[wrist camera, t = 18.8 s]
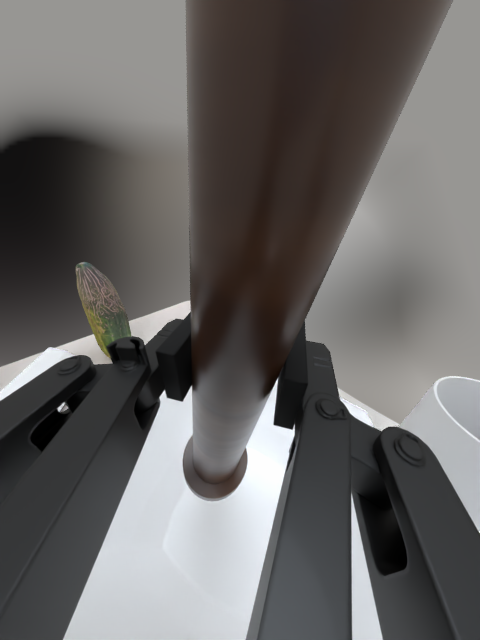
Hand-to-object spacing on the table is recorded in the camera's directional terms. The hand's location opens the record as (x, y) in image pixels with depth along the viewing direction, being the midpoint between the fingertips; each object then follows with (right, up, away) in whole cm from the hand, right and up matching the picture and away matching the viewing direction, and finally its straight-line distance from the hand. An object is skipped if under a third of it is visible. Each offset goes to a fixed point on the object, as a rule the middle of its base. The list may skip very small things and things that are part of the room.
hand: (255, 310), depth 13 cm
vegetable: (-26, -8, +30) cm, 41 cm away
